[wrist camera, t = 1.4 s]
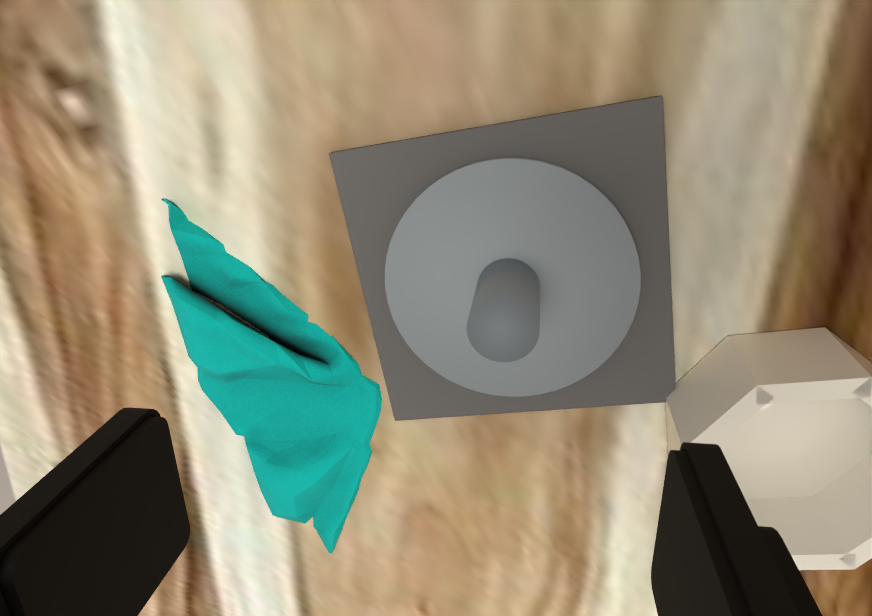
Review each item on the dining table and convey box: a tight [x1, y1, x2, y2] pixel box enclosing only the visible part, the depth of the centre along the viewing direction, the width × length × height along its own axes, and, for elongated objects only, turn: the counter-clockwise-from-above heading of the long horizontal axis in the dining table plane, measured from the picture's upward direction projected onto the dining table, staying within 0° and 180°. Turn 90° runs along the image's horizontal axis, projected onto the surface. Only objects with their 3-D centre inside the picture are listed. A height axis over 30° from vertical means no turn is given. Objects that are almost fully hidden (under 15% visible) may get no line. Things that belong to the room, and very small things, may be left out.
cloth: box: [161, 199, 382, 554], centre depth 38 cm, size 26×14×2 cm, turn 5°
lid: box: [385, 157, 641, 397], centre depth 30 cm, size 13×13×6 cm
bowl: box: [666, 327, 872, 570], centre depth 32 cm, size 11×11×5 cm
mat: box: [329, 96, 676, 421], centre depth 33 cm, size 16×16×1 cm
